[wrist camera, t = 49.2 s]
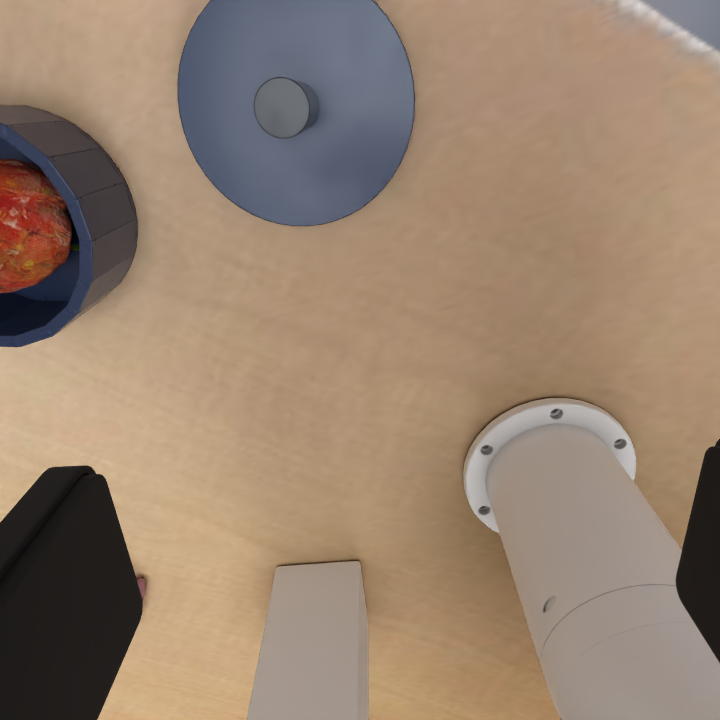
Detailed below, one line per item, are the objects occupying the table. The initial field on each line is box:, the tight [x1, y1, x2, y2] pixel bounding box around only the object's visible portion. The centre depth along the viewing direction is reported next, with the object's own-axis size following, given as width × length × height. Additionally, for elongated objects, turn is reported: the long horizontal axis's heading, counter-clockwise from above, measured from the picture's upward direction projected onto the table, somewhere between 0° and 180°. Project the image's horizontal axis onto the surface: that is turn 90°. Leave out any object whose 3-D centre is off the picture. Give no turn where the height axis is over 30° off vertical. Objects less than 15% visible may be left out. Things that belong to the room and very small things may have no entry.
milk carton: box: [247, 561, 369, 720], centre depth 40 cm, size 7×7×19 cm
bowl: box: [0, 105, 138, 347], centre depth 32 cm, size 12×13×6 cm
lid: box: [178, 0, 415, 226], centre depth 29 cm, size 13×13×7 cm
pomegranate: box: [0, 159, 79, 293], centre depth 31 cm, size 7×7×10 cm
